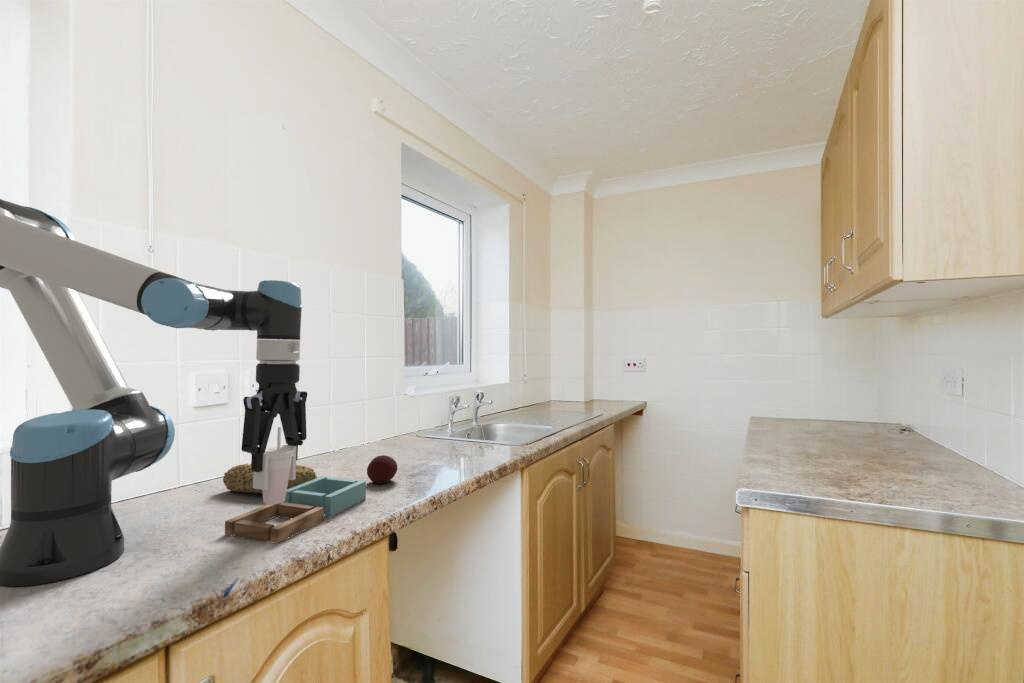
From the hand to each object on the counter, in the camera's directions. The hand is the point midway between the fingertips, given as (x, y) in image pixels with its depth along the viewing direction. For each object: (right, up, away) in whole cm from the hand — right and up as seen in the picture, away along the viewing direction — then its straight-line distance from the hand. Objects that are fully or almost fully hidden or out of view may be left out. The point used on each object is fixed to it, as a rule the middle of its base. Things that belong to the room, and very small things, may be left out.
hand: (274, 483), depth 92 cm
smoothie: (0, -4, 0) cm, 4 cm away
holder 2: (+5, -9, +13) cm, 16 cm away
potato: (+12, -9, +31) cm, 34 cm away
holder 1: (0, -8, 0) cm, 8 cm away
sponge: (-12, -9, +22) cm, 27 cm away
